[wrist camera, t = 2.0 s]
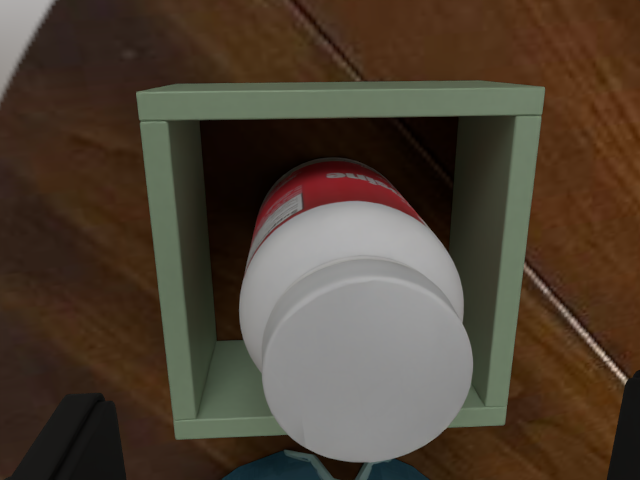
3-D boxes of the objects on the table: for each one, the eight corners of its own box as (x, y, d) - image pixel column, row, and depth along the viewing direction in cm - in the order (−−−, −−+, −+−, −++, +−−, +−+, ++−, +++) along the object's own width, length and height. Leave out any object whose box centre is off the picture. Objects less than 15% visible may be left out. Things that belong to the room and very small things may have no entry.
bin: (175, 83, 20) (135, 91, 15) (480, 80, 21) (546, 86, 15) (200, 356, 24) (174, 440, 18) (458, 347, 24) (505, 425, 19)
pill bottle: (435, 222, 22) (565, 366, 12) (334, 323, 23) (372, 533, 13) (326, 120, 21) (364, 180, 10) (224, 233, 22) (166, 391, 11)
